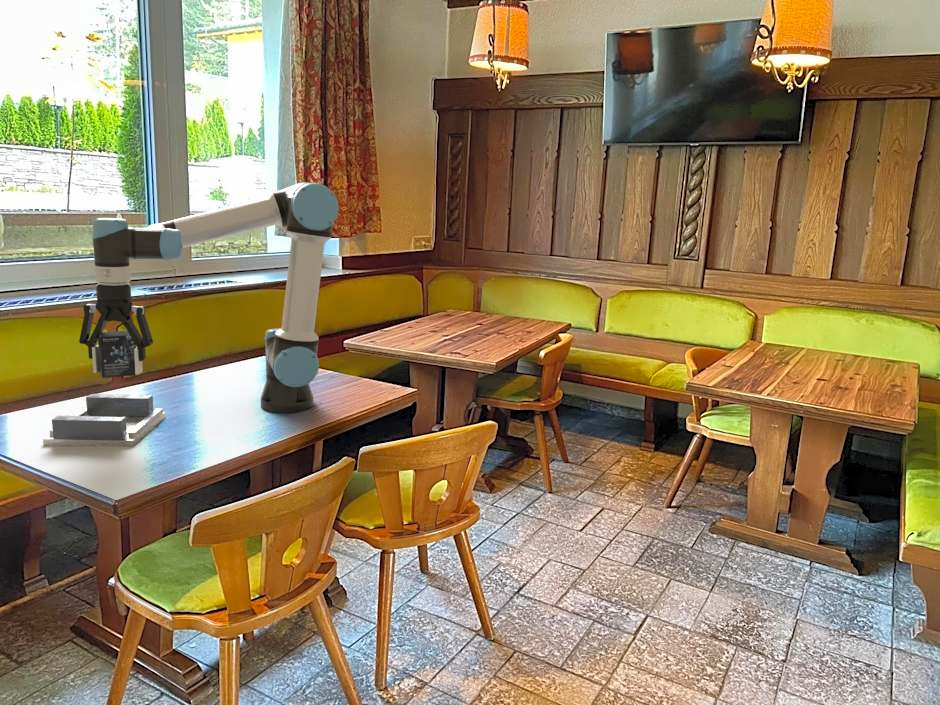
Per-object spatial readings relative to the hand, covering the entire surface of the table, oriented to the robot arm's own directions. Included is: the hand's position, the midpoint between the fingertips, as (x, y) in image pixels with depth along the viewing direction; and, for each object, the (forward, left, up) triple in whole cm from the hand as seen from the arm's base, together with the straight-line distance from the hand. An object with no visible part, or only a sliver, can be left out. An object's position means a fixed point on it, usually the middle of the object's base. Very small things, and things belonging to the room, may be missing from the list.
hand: (118, 372), depth 175 cm
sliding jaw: (+5, -11, -15) cm, 19 cm away
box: (0, 0, -1) cm, 1 cm away
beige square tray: (+5, -3, -16) cm, 17 cm away
